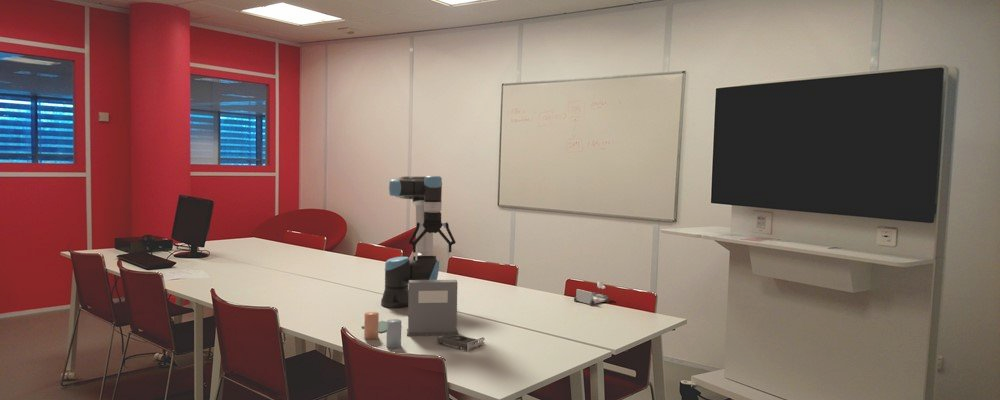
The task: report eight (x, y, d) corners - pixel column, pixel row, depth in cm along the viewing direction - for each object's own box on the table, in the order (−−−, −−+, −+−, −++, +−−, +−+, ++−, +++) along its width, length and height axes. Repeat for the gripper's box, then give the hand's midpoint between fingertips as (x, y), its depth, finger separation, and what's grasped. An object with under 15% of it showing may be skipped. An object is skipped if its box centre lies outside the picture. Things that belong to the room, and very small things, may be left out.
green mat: (361, 327, 260) (361, 326, 260) (382, 322, 270) (382, 320, 270) (380, 333, 253) (380, 331, 253) (401, 327, 263) (401, 325, 263)
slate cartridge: (383, 346, 235) (383, 321, 234) (394, 343, 240) (394, 318, 239) (393, 349, 232) (393, 323, 231) (404, 346, 236) (404, 320, 236)
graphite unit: (406, 331, 257) (407, 279, 255) (456, 330, 260) (457, 279, 258) (406, 335, 250) (407, 283, 248) (457, 334, 253) (458, 282, 251)
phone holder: (596, 280, 328) (613, 283, 319) (596, 297, 329) (613, 302, 320) (574, 283, 316) (591, 287, 308) (573, 302, 317) (590, 306, 308)
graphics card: (486, 337, 241) (468, 343, 231) (486, 346, 241) (468, 353, 231) (453, 330, 250) (434, 336, 240) (453, 339, 250) (434, 345, 240)
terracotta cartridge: (361, 338, 245) (361, 313, 245) (371, 335, 250) (372, 311, 249) (370, 340, 242) (371, 316, 241) (381, 337, 247) (381, 313, 246)
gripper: (403, 212, 258) (403, 261, 260) (462, 212, 262) (461, 261, 264) (403, 210, 266) (403, 258, 267) (460, 211, 270) (459, 258, 271)
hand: (432, 260), depth 265 cm, fingers open, 13 cm apart
